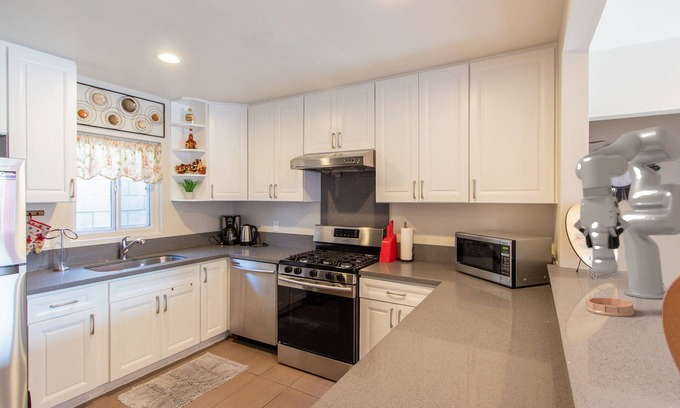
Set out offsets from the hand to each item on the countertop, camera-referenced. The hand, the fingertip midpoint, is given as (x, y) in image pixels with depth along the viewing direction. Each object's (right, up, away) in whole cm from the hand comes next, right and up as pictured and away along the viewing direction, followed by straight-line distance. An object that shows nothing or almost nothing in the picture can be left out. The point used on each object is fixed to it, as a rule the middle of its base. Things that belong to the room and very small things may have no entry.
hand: (602, 247), depth 107 cm
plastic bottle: (+1, -9, 0) cm, 9 cm away
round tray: (+1, -20, -1) cm, 21 cm away
